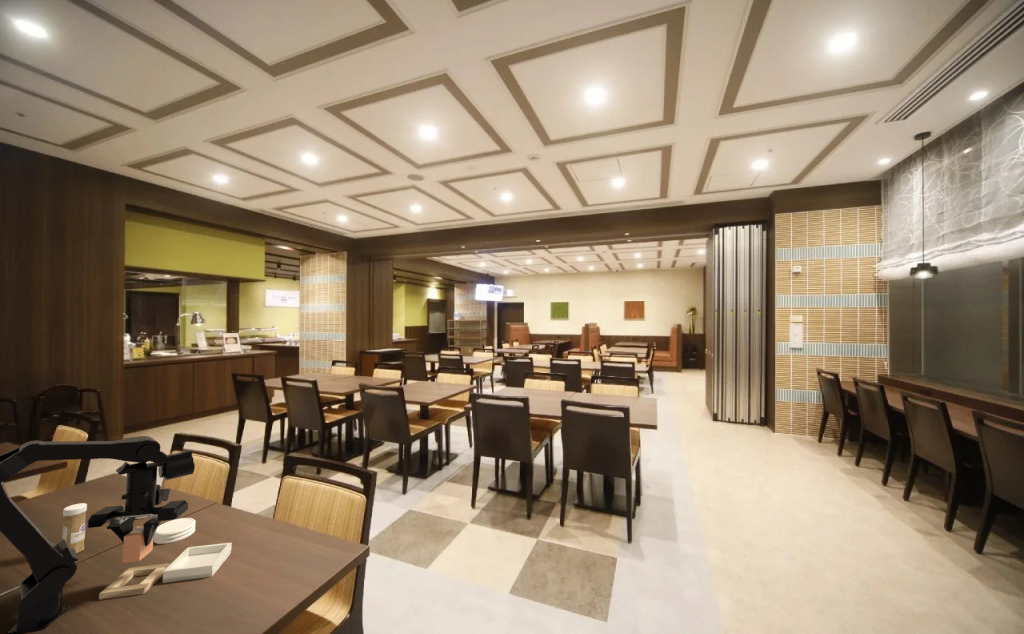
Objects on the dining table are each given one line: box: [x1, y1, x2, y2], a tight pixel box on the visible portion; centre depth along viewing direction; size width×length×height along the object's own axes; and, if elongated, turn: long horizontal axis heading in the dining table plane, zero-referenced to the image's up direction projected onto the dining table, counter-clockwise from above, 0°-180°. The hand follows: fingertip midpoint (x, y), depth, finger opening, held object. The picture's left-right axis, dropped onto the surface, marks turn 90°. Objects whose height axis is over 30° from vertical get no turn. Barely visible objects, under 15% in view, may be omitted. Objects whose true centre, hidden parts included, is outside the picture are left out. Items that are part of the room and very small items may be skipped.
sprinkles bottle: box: [61, 502, 88, 554], centre depth 109 cm, size 5×5×14 cm
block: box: [122, 525, 154, 564], centre depth 97 cm, size 5×4×7 cm
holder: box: [98, 562, 170, 601], centre depth 97 cm, size 10×9×2 cm
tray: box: [162, 542, 233, 584], centre depth 104 cm, size 11×11×3 cm
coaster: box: [153, 517, 197, 545], centre depth 119 cm, size 10×10×4 cm
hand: (138, 546), depth 97 cm, fingers closed on block, 3 cm apart
